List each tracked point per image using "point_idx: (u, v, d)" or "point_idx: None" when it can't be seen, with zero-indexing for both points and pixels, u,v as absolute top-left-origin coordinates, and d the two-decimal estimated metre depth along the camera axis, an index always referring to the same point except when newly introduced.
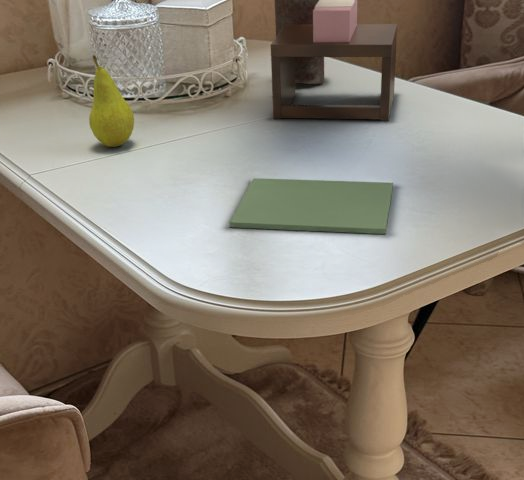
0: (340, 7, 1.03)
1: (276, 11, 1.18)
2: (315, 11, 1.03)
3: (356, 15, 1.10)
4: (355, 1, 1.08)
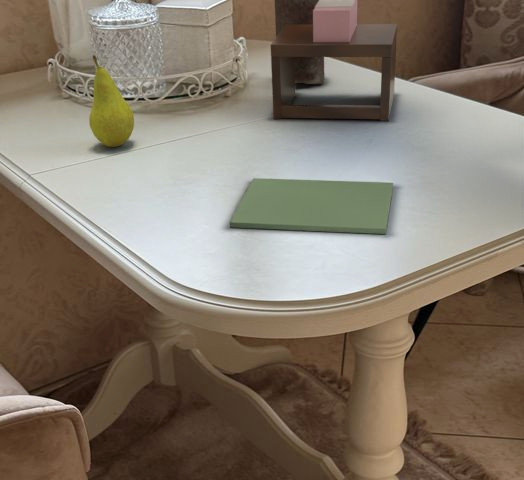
0: (340, 7, 1.03)
1: (276, 11, 1.18)
2: (315, 11, 1.03)
3: (356, 15, 1.10)
4: (355, 1, 1.08)
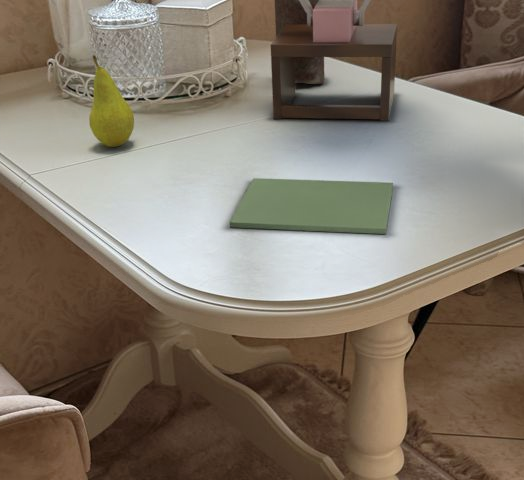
0: (340, 7, 1.03)
1: (276, 11, 1.18)
2: (315, 11, 1.03)
3: None
4: (355, 1, 1.08)
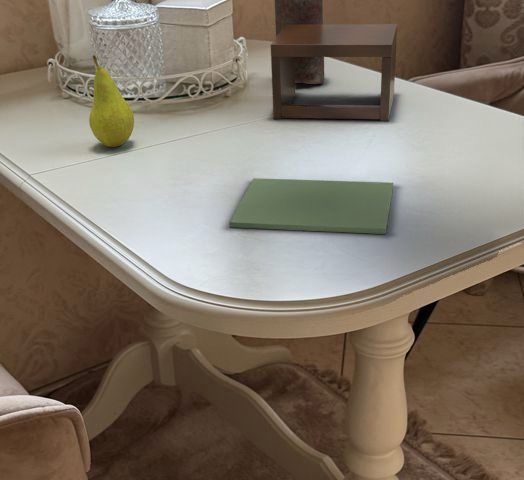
0: None
1: (276, 11, 1.18)
2: None
3: None
4: None
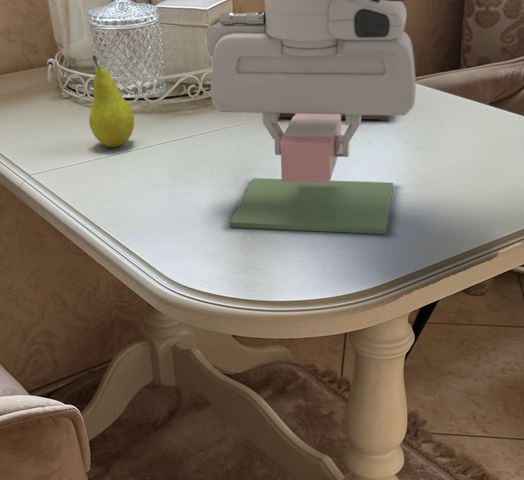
0: (317, 137, 0.77)
1: None
2: (283, 144, 0.77)
3: None
4: (338, 123, 0.82)
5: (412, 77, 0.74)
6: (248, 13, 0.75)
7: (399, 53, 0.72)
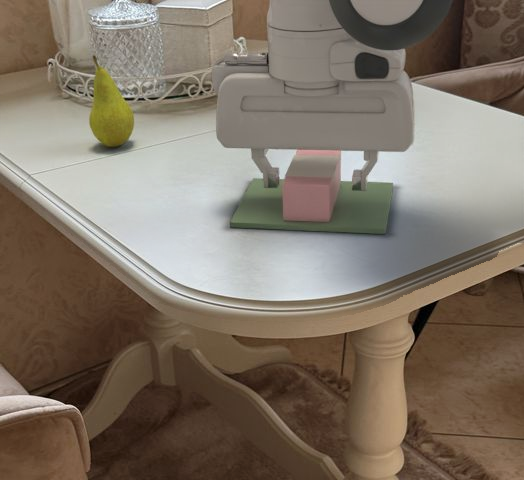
0: (317, 178, 0.80)
1: None
2: (285, 185, 0.79)
3: (339, 174, 0.87)
4: (338, 161, 0.84)
5: (411, 116, 0.76)
6: (251, 54, 0.77)
7: (399, 93, 0.75)
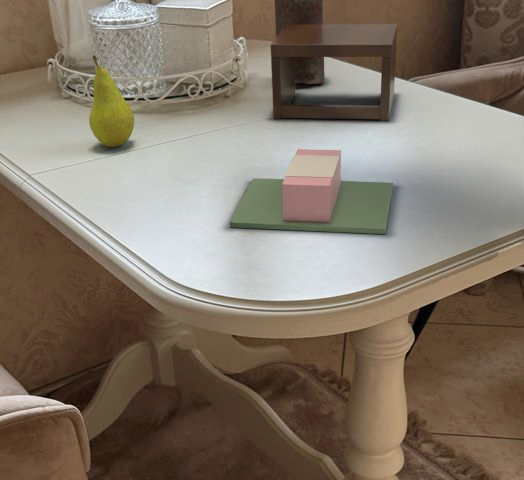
0: (317, 178, 0.80)
1: (276, 11, 1.18)
2: (285, 185, 0.79)
3: (339, 174, 0.87)
4: (338, 161, 0.84)
5: None
6: None
7: None
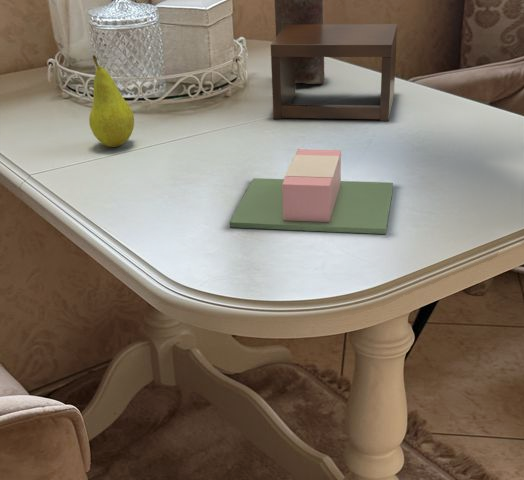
0: (317, 178, 0.80)
1: (276, 11, 1.18)
2: (285, 185, 0.79)
3: (339, 174, 0.87)
4: (338, 161, 0.84)
5: None
6: None
7: None
